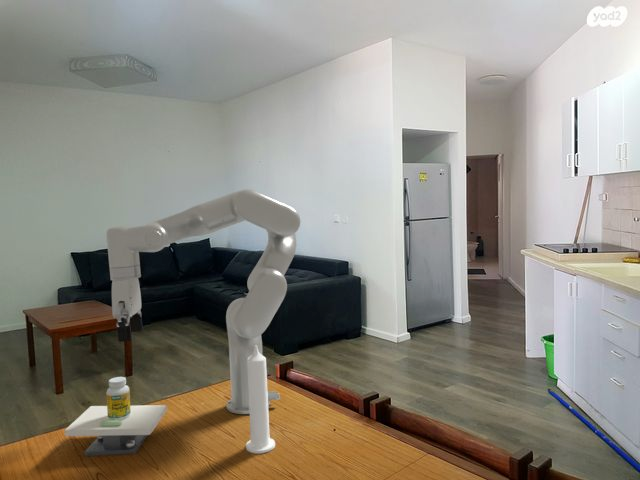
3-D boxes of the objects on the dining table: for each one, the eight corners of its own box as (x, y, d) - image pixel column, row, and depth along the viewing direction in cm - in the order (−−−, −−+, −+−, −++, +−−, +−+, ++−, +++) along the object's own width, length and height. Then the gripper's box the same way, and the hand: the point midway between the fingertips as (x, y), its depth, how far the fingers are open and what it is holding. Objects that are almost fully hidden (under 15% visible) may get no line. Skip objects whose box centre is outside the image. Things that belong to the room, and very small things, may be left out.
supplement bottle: (128, 410, 128) (126, 374, 127) (132, 417, 123) (131, 380, 122) (105, 415, 125) (104, 378, 124) (109, 423, 120) (108, 384, 120)
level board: (166, 410, 131) (166, 400, 131) (149, 434, 117) (149, 423, 117) (91, 411, 131) (90, 401, 131) (65, 436, 117) (64, 425, 117)
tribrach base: (152, 429, 131) (151, 413, 131) (135, 453, 118) (133, 436, 118) (106, 431, 131) (105, 415, 130) (84, 456, 118) (83, 438, 117)
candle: (279, 441, 121) (275, 341, 119) (267, 455, 115) (262, 350, 113) (254, 438, 124) (249, 340, 122) (240, 451, 117) (235, 348, 115)
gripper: (121, 269, 139) (127, 329, 140) (98, 278, 122) (105, 346, 123) (148, 267, 139) (154, 327, 141) (129, 276, 122) (135, 344, 124)
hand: (131, 336), depth 132 cm, fingers open, 9 cm apart
